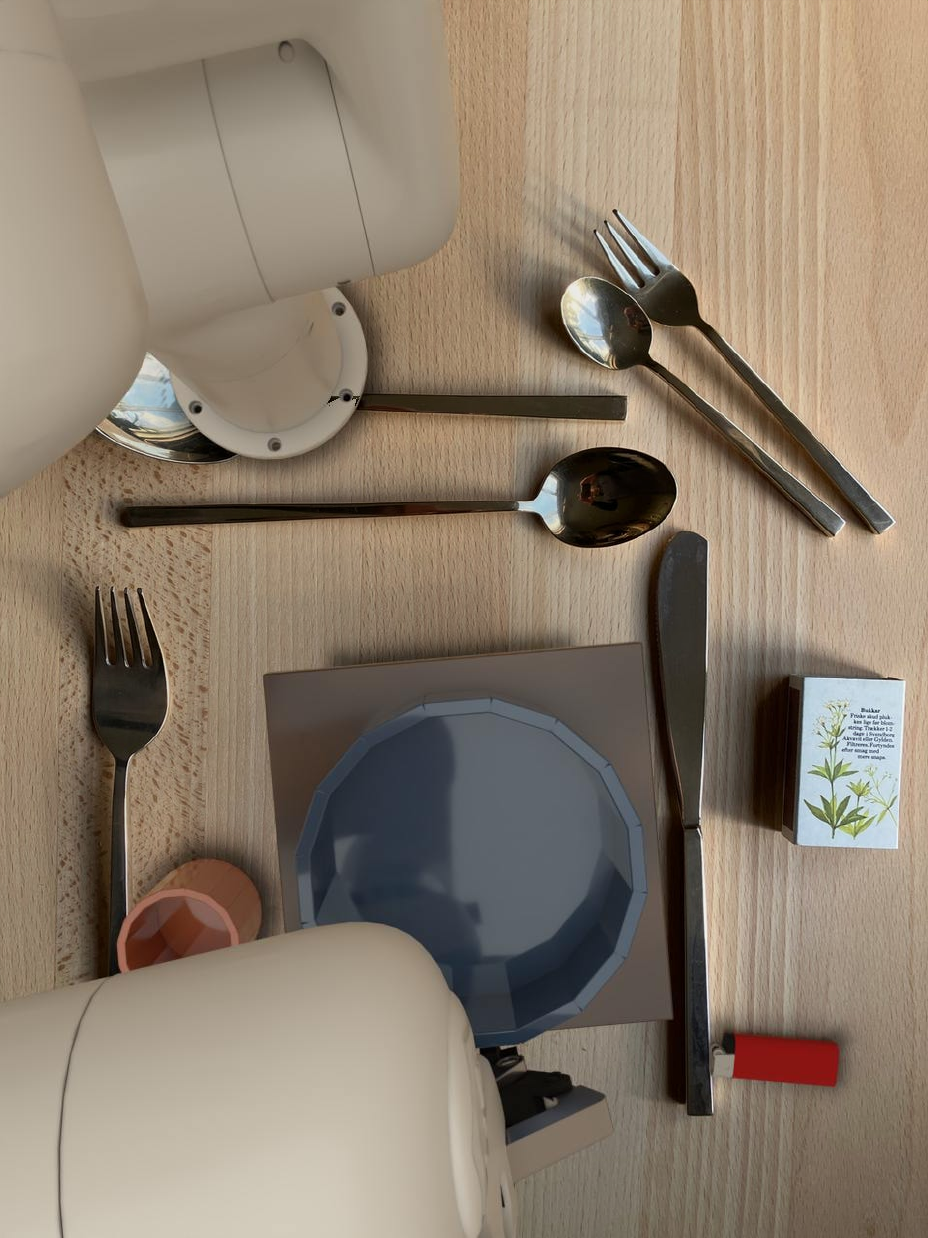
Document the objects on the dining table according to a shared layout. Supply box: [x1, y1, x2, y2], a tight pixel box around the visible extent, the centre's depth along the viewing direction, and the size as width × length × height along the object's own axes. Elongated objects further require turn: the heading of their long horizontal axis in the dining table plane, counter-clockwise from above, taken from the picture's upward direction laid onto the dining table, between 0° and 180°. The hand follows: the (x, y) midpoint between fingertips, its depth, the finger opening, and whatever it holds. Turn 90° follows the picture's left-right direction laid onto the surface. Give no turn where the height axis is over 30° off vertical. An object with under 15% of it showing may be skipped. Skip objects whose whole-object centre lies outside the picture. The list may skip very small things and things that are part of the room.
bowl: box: [295, 689, 648, 1049], centre depth 42 cm, size 13×13×4 cm
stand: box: [262, 641, 674, 1032], centre depth 56 cm, size 16×16×24 cm
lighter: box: [708, 1032, 840, 1088], centre depth 68 cm, size 3×1×8 cm
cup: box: [116, 858, 263, 973], centre depth 64 cm, size 7×7×8 cm
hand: (382, 1088), depth 44 cm, fingers open, 9 cm apart
